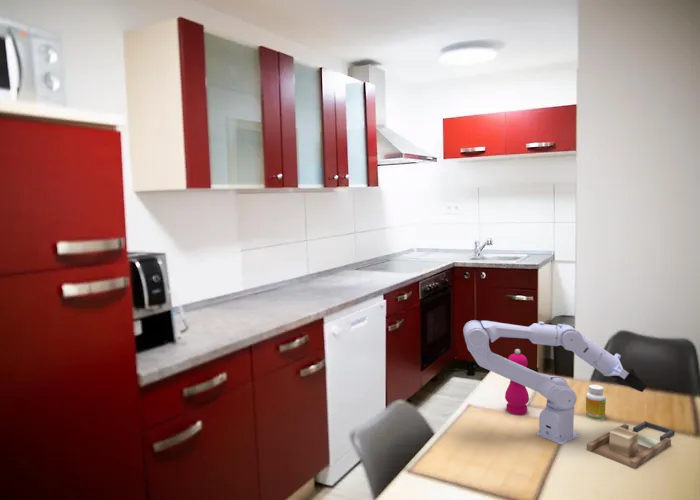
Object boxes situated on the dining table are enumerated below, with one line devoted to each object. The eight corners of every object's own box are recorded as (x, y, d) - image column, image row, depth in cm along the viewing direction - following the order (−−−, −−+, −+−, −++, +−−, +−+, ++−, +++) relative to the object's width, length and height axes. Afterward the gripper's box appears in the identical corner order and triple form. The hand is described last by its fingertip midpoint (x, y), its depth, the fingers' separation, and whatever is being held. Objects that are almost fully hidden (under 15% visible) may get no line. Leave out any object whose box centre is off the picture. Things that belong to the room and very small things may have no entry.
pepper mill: (531, 415, 164) (533, 352, 162) (508, 415, 164) (509, 352, 162) (524, 406, 171) (525, 345, 169) (502, 406, 171) (502, 345, 169)
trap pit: (662, 442, 145) (663, 437, 144) (633, 432, 151) (633, 427, 151) (674, 435, 149) (674, 430, 149) (644, 426, 155) (644, 421, 155)
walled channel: (634, 470, 131) (634, 462, 131) (586, 451, 141) (586, 444, 141) (670, 446, 143) (671, 439, 142) (624, 430, 152) (624, 423, 152)
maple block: (628, 457, 136) (629, 438, 136) (609, 450, 140) (609, 431, 140) (637, 451, 139) (638, 433, 139) (618, 444, 143) (619, 426, 143)
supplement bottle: (602, 423, 158) (603, 391, 157) (583, 418, 161) (584, 387, 160) (606, 416, 162) (607, 386, 161) (587, 412, 165) (588, 382, 164)
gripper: (615, 349, 139) (659, 380, 139) (594, 339, 154) (633, 366, 153) (599, 371, 140) (643, 401, 139) (579, 359, 154) (619, 386, 153)
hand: (637, 384), depth 146 cm, fingers open, 7 cm apart
